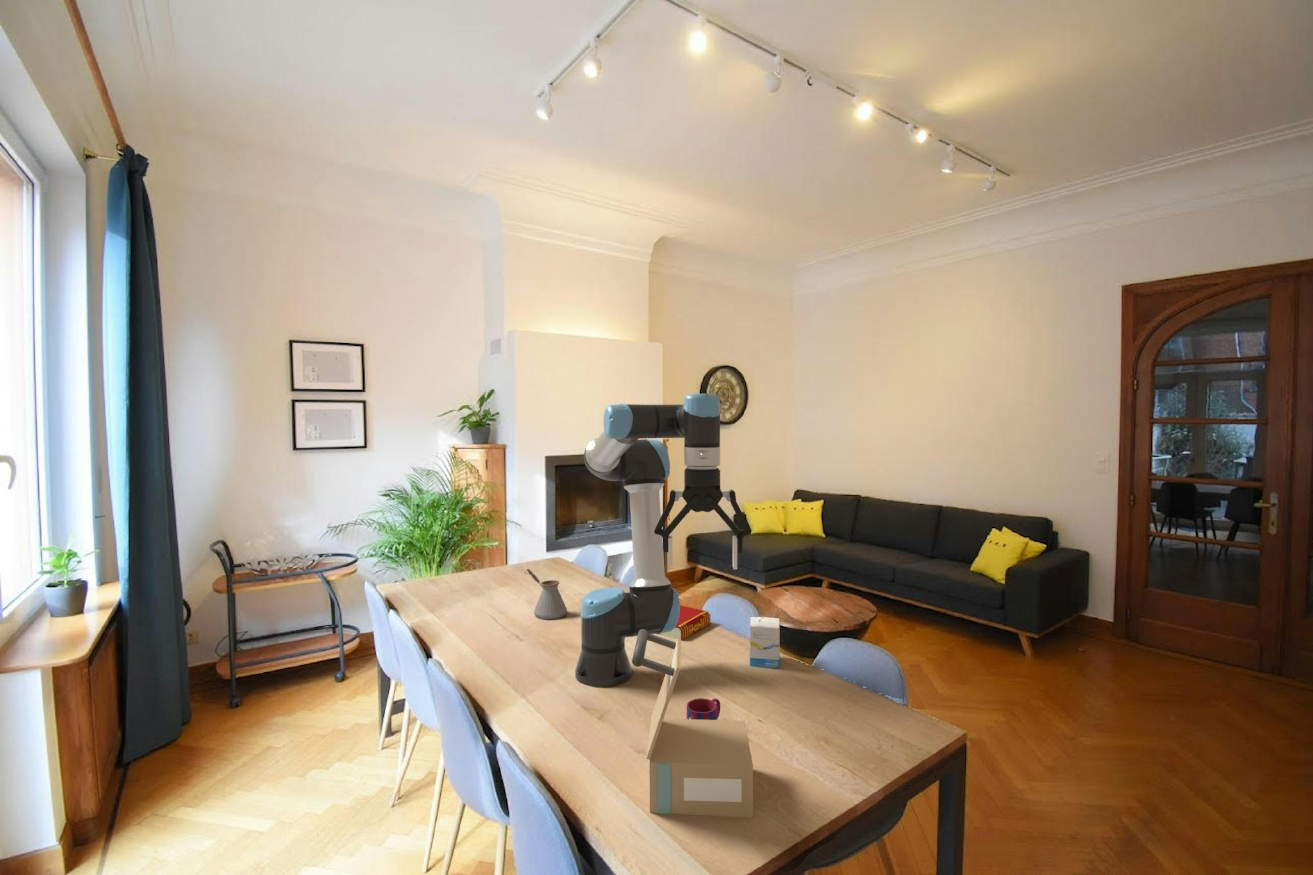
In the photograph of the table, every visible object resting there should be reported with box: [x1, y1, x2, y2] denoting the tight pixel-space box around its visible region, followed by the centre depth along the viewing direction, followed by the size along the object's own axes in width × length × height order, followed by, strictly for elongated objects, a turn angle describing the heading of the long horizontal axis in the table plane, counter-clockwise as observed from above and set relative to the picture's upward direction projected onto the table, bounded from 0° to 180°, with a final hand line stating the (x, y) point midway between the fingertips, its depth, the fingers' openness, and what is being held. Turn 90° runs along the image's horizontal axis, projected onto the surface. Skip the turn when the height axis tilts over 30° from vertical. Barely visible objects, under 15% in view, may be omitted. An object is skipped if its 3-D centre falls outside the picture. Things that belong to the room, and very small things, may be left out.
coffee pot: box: [524, 568, 568, 621], centre depth 209 cm, size 21×12×15 cm, turn 43°
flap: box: [631, 629, 682, 761], centre depth 109 cm, size 17×14×8 cm
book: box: [658, 604, 711, 642], centre depth 194 cm, size 18×13×5 cm
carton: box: [649, 718, 754, 819], centre depth 109 cm, size 18×15×10 cm
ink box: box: [749, 616, 781, 669], centre depth 168 cm, size 9×8×12 cm
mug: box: [686, 697, 721, 720], centre depth 130 cm, size 7×10×7 cm
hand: (702, 567), depth 123 cm, fingers open, 13 cm apart
